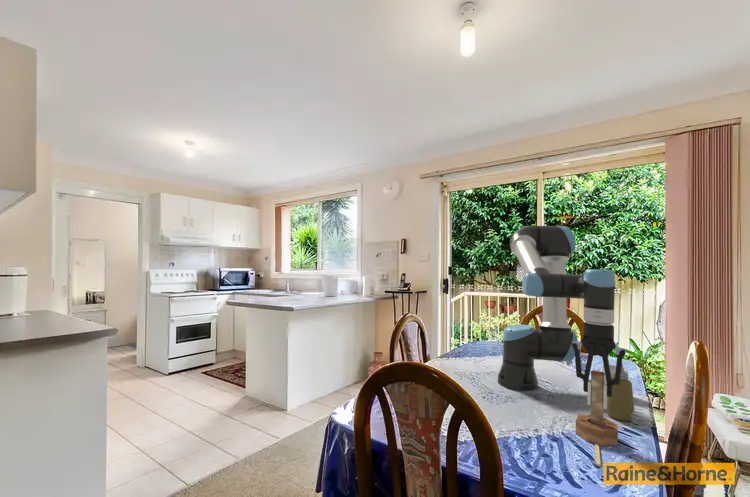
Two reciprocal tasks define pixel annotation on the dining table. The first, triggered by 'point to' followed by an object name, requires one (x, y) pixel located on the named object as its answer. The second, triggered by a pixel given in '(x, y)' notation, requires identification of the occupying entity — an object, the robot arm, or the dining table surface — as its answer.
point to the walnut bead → (597, 431)
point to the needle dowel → (597, 398)
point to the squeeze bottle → (621, 398)
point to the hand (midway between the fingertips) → (597, 405)
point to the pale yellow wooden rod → (597, 455)
